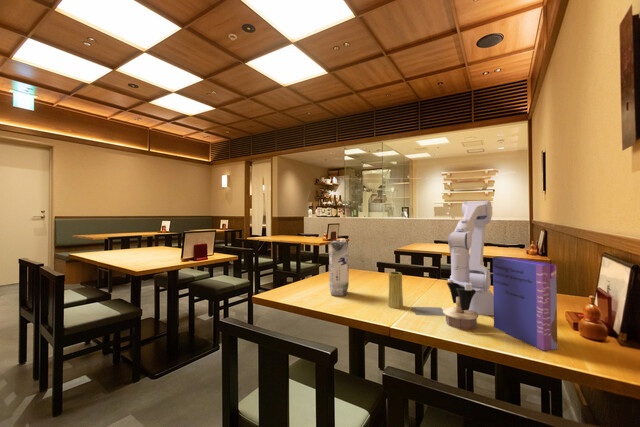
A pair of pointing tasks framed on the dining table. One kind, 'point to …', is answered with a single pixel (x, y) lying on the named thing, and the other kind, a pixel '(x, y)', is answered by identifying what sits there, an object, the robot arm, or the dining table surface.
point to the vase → (395, 290)
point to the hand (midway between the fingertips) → (460, 306)
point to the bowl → (461, 323)
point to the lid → (460, 312)
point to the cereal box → (526, 301)
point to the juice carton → (338, 267)
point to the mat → (428, 311)
